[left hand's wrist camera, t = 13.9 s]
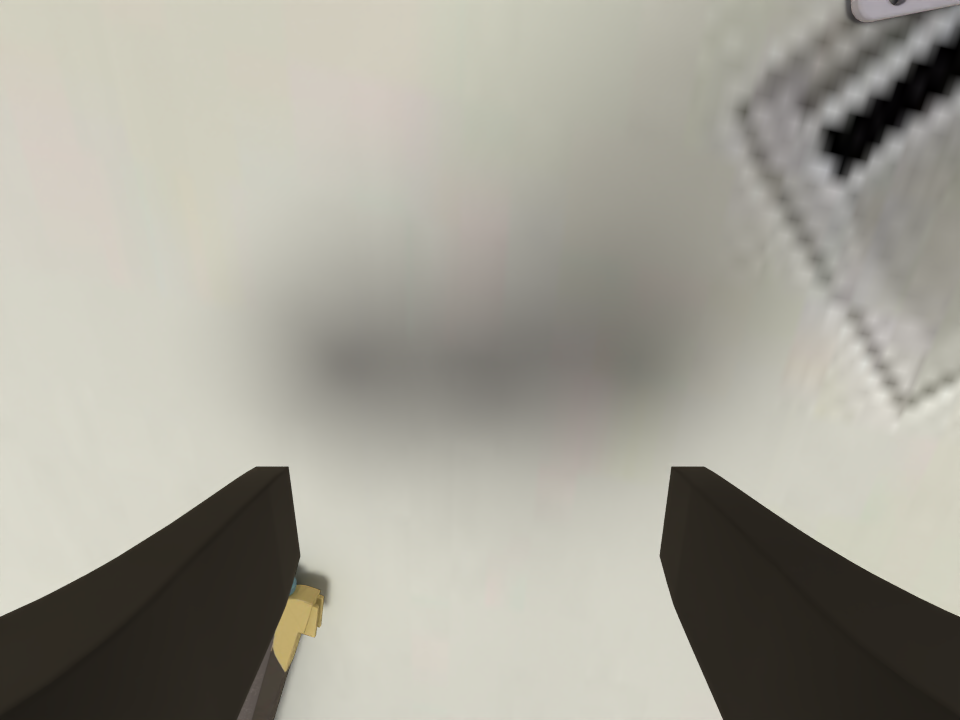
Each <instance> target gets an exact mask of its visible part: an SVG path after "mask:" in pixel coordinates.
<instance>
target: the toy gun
mask: <svg viewBox="0 0 960 720" xmlns="http://www.w3.org/2000/svg"><path fill="white" fill-rule="evenodd" d="M323 602H324V596H322V595H320V590H318V589H315V588H313V587H310V586H306V585H297V582H296V578H295V577H294V581H293V585H292V588H291V591H290V595H289V598H288V601H287V605H286V607H285V610H284V612H283V614H282V617H281V619H280V622H279V624H278V626H277V629H276V631H275V633H274V636H273V638H272V640H271V643H270V645H269V647H268V649H267V652H266V654H265V656H264V659H263V661H262V663H261V665H260V668H259V670H258V672H257V675H256V677H255V679H254V681H253V684H252V686H251V688H250V691H249V693H248V695H247V698H246V700H245V702H244V704H243V707H242V709H241V711H240V714H239V716H238V718H237V720H274V717H275V714H276V710H277V707H278V704H279V700H280V697H281V693H282V690H283V687H284V683H285V680H286V677H287V674H288V671H289V667H290V664H291V662H292V660H293V657H294V655H295V652H296V649H297V646H298V642H299V639H300V636H301V633H302V634H305V635H308V636H311V637H315V636H316V630H317V627H319V628H320V626H321V621H322V611H323Z"/></svg>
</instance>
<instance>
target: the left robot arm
mask: <svg viewBox="0 0 960 720" xmlns="http://www.w3.org/2000/svg"><path fill="white" fill-rule="evenodd" d="M959 4H960V0H898V2H897V3H896V4H895V5H893V4H891V3H890V1H889V0H851V9H852V13H853V15H854V16H855V18H856V19H858V20H859V21H861V22H873V21H878V20H883V19H888V18H893V17H899V16H904V15H909V14H914V13H919V12H924V11H929V10H934V9H939V8H944V7H949V6H954V5H959ZM299 559H300V549H299V542H298V534H297V527H296V519H295V512H294V504H293V497H292V489H291V482H290V474H289V467H255V468H253V469H251V470H250V471H248V472H246V473H245V474H243V475H242V476H240V477H238V478H237V479H235V480H234V481H232V482H231V483H230V484H228V485H227V486H225V487H224V488H222V489H221V490H219V491H218V492H216V493H215V494H214V495H212V496H211V497H209V498H208V499H206V500H205V501H203V502H202V503H200V504H199V505H198V506H196V507H195V508H193V509H192V510H190V511H189V512H187V513H186V514H184V515H183V516H181V517H180V518H178V519H177V520H175V521H174V522H172V523H171V524H169V525H168V526H166V527H165V528H163V529H161V530H160V531H158V532H157V533H155V534H154V535H152V536H150V537H149V538H147V539H146V540H144V541H142V542H141V543H139V544H138V545H136V546H134V547H133V548H131V549H130V550H128V551H126V552H125V553H123V554H122V555H120V556H118V557H117V558H115V559H113V560H111V561H110V562H108V563H106V564H105V565H103V566H101V567H99V568H97V569H96V570H94V571H92V572H90V573H88V574H87V575H85V576H83V577H81V578H79V579H77V580H75V581H73V582H71V583H70V584H68V585H66V586H64V587H62V588H60V589H58V590H56V591H54V592H52V593H50V594H48V595H46V596H44V597H42V598H40V599H38V600H36V601H34V602H32V603H29V604H27V605H25V606H23V607H21V608H18V609H16V610H14V611H12V612H10V613H8V614H5V615H3V616H1V617H0V720H237V718H238V716H239V714H240V711H241V709H242V707H243V704H244V702H245V700H246V698H247V695H248V693H249V691H250V688H251V686H252V684H253V681H254V679H255V677H256V675H257V672H258V670H259V668H260V665H261V663H262V661H263V659H264V656H265V654H266V652H267V649H268V647H269V645H270V643H271V640H272V638H273V636H274V633H275V631H276V629H277V626H278V624H279V622H280V619H281V617H282V614H283V612H284V610H285V607H286V605H287V601H288V598H289V595H290V591H291V588H292V585H293V581H294V577H295V574H296V570H297V566H298V563H299ZM660 559H661V563H662V566H663V570H664V574H665V577H666V581H667V585H668V588H669V591H670V595H671V598H672V601H673V605H674V607H675V610H676V612H677V614H678V617H679V619H680V622H681V624H682V626H683V629H684V631H685V633H686V636H687V638H688V640H689V643H690V645H691V647H692V649H693V652H694V654H695V656H696V659H697V661H698V663H699V665H700V668H701V670H702V672H703V675H704V677H705V679H706V681H707V684H708V686H709V688H710V691H711V693H712V695H713V698H714V700H715V702H716V704H717V707H718V709H719V711H720V714H721V716H722V718H723V720H960V617H959V616H957V615H954V614H952V613H950V612H948V611H945V610H943V609H941V608H939V607H937V606H935V605H933V604H931V603H929V602H927V601H924V600H922V599H920V598H918V597H916V596H914V595H912V594H910V593H909V592H907V591H905V590H903V589H901V588H899V587H897V586H895V585H893V584H891V583H889V582H887V581H885V580H884V579H882V578H880V577H878V576H876V575H874V574H872V573H870V572H868V571H867V570H865V569H863V568H861V567H860V566H858V565H856V564H854V563H852V562H851V561H849V560H847V559H846V558H844V557H842V556H841V555H839V554H837V553H836V552H834V551H832V550H831V549H829V548H827V547H826V546H824V545H822V544H821V543H819V542H817V541H816V540H814V539H813V538H811V537H810V536H808V535H806V534H805V533H803V532H802V531H800V530H799V529H797V528H796V527H794V526H793V525H791V524H789V523H788V522H786V521H785V520H783V519H782V518H780V517H779V516H777V515H776V514H775V513H773V512H772V511H770V510H769V509H767V508H766V507H764V506H763V505H761V504H760V503H758V502H757V501H755V500H754V499H753V498H751V497H750V496H748V495H747V494H745V493H744V492H742V491H741V490H740V489H738V488H737V487H735V486H734V485H732V484H731V483H729V482H728V481H726V480H725V479H723V478H722V477H720V476H719V475H717V474H716V473H714V472H712V471H711V470H709V469H707V468H706V467H671V474H670V482H669V489H668V497H667V504H666V512H665V519H664V527H663V534H662V542H661V549H660Z"/></svg>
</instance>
